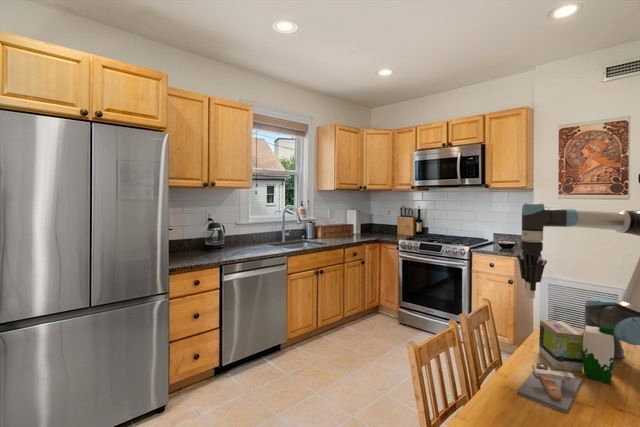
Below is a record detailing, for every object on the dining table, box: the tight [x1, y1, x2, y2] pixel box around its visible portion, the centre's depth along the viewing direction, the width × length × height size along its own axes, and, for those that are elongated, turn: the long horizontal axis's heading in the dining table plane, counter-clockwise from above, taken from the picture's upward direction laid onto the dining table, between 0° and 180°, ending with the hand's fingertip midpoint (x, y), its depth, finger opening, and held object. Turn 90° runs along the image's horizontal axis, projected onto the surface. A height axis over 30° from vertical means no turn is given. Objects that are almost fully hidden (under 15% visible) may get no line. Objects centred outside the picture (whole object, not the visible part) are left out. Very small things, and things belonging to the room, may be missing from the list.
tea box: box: [538, 319, 584, 372], centre depth 137 cm, size 15×10×15 cm, turn 168°
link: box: [531, 363, 561, 400], centre depth 118 cm, size 20×5×2 cm, turn 160°
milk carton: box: [582, 325, 615, 386], centre depth 124 cm, size 9×9×20 cm
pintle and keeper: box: [534, 362, 575, 392], centre depth 118 cm, size 13×14×5 cm
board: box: [516, 368, 583, 414], centre depth 118 cm, size 26×14×1 cm, turn 134°
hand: (530, 297), depth 137 cm, fingers closed
